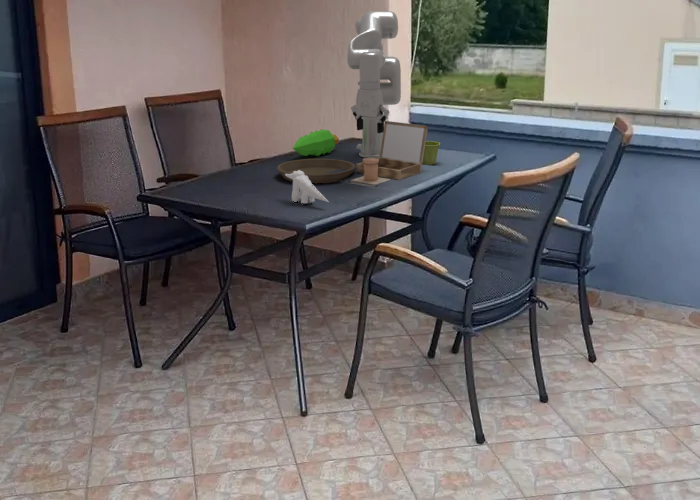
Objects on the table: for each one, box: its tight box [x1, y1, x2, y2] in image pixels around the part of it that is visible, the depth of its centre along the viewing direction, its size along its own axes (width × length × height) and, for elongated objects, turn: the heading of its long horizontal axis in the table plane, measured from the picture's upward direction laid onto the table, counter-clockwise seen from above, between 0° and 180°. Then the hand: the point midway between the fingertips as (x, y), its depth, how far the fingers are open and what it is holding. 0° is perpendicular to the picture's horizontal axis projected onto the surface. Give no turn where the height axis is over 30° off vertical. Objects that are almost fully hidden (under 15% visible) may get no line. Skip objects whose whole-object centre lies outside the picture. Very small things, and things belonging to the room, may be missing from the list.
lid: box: [380, 120, 429, 164], centre depth 352 cm, size 21×15×1 cm
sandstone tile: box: [350, 175, 392, 188], centre depth 337 cm, size 12×10×1 cm
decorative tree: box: [292, 129, 340, 157], centre depth 383 cm, size 11×12×30 cm
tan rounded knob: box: [362, 157, 379, 181], centre depth 336 cm, size 6×6×8 cm
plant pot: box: [420, 140, 441, 166], centre depth 366 cm, size 9×9×9 cm
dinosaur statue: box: [285, 170, 330, 204], centre depth 307 cm, size 7×24×11 cm, turn 43°
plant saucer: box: [276, 158, 356, 185], centre depth 348 cm, size 31×31×5 cm
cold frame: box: [355, 157, 423, 181], centre depth 348 cm, size 21×15×4 cm
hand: (370, 131), depth 332 cm, fingers open, 9 cm apart
